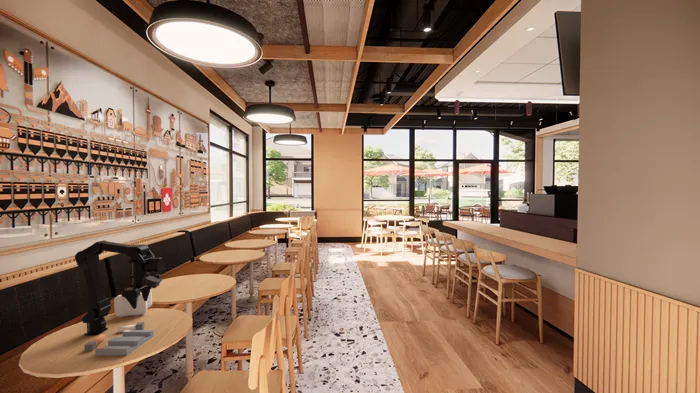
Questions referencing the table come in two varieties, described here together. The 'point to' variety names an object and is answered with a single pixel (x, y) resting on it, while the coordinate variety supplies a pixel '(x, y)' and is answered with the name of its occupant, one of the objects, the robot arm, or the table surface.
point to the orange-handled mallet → (94, 343)
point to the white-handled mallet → (131, 327)
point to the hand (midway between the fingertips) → (140, 304)
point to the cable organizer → (126, 309)
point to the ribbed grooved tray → (125, 343)
